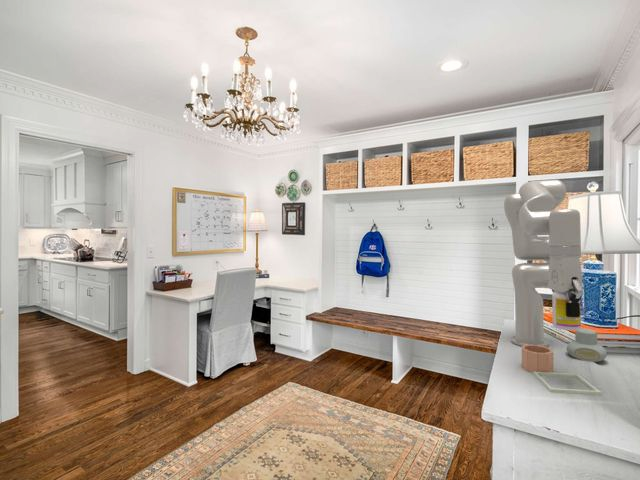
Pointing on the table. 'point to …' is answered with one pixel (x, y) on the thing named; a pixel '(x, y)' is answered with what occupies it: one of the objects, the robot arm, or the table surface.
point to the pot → (537, 358)
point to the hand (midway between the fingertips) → (566, 313)
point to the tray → (589, 392)
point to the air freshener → (586, 346)
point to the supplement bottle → (563, 313)
